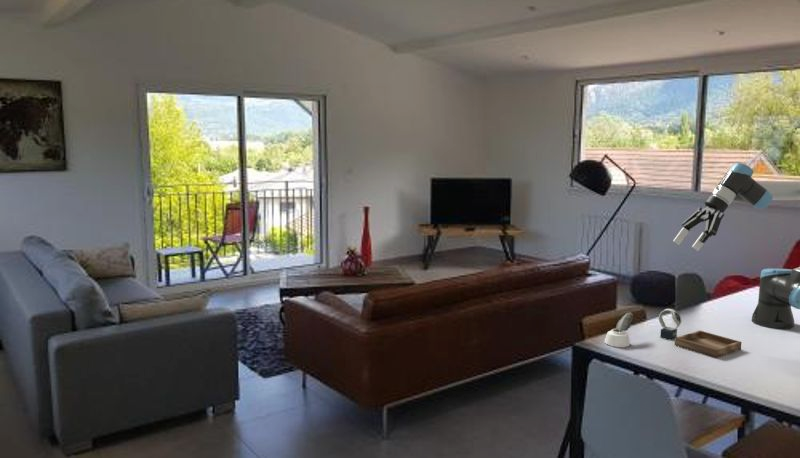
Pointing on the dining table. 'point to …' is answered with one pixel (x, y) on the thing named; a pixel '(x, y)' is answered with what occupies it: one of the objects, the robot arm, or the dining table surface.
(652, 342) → the dining table surface
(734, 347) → the walnut tray
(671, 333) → the watch
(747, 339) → the dining table surface
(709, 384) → the dining table surface
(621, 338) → the inkwell
